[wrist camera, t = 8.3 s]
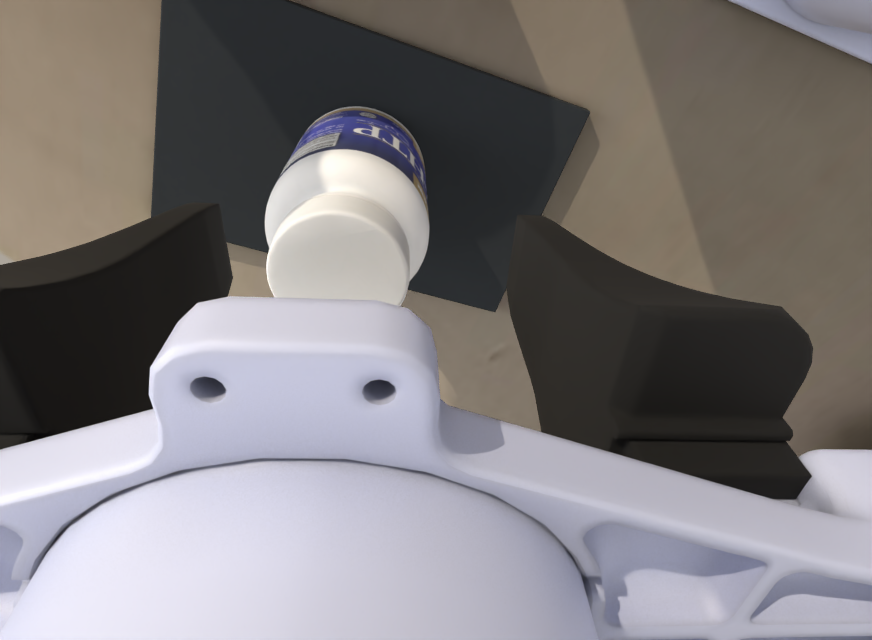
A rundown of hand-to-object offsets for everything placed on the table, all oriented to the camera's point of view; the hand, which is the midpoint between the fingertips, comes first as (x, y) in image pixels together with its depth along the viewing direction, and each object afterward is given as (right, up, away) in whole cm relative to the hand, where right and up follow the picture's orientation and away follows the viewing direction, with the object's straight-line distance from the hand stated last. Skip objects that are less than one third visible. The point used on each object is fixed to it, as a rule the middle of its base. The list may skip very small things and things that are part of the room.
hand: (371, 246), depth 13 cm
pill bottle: (-2, +4, +9) cm, 10 cm away
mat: (-1, +5, +9) cm, 10 cm away
